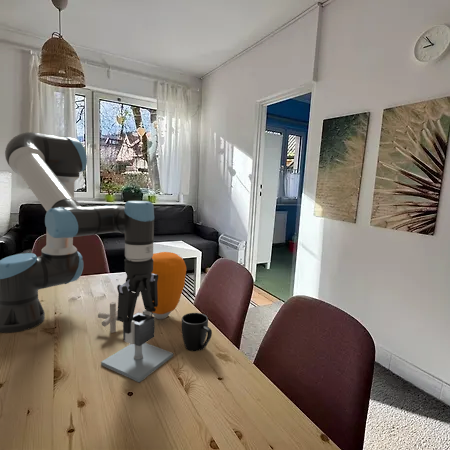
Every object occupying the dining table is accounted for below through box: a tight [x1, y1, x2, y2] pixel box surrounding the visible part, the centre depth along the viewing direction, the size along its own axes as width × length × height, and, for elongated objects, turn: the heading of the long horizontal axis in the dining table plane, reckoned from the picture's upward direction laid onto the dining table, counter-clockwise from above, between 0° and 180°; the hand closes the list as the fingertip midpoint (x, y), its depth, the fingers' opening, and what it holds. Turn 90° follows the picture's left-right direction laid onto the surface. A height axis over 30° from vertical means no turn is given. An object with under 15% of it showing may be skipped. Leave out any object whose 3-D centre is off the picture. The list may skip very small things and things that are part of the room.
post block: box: [100, 342, 174, 383], centre depth 87 cm, size 14×14×8 cm
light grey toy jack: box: [97, 301, 119, 334], centre depth 102 cm, size 10×10×10 cm
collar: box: [122, 311, 156, 346], centre depth 86 cm, size 6×6×6 cm
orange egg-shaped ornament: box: [151, 251, 187, 320], centre depth 113 cm, size 17×17×25 cm
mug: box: [181, 312, 213, 352], centre depth 94 cm, size 8×12×10 cm
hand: (138, 337), depth 86 cm, fingers closed on collar, 6 cm apart
